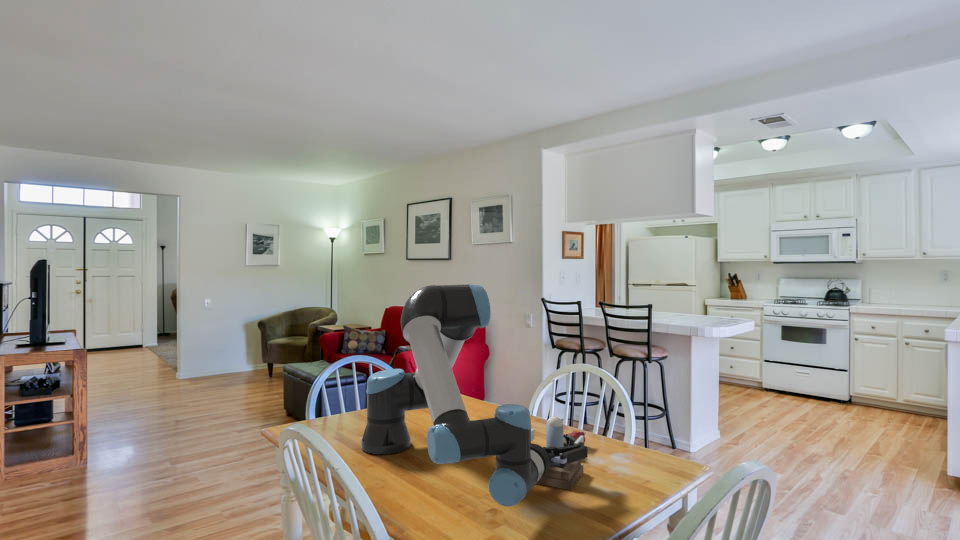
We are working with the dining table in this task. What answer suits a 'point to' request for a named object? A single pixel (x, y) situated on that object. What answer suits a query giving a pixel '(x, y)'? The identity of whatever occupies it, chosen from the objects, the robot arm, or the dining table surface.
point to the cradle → (562, 476)
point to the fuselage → (554, 435)
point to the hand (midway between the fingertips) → (557, 437)
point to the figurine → (572, 438)
